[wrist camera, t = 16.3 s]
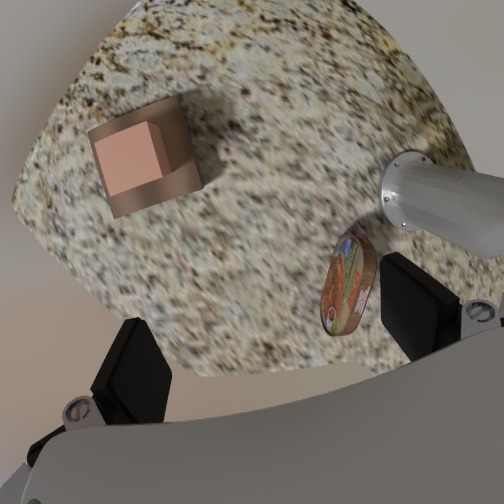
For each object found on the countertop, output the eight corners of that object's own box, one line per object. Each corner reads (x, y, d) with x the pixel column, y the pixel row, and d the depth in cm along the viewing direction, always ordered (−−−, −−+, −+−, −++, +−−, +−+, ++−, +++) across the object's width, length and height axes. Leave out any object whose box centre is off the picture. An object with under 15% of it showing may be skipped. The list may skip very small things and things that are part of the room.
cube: (158, 125, 30) (146, 120, 24) (172, 172, 32) (162, 177, 26) (114, 143, 30) (94, 143, 24) (127, 188, 32) (110, 196, 26)
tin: (339, 226, 40) (366, 245, 32) (357, 229, 40) (386, 248, 33) (314, 316, 45) (332, 348, 37) (332, 317, 45) (351, 348, 37)
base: (179, 99, 32) (175, 95, 29) (204, 186, 36) (202, 189, 33) (96, 132, 32) (87, 131, 29) (121, 214, 36) (114, 219, 33)
